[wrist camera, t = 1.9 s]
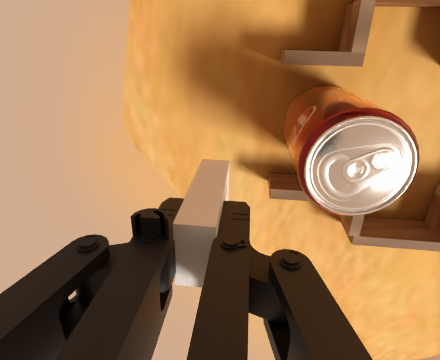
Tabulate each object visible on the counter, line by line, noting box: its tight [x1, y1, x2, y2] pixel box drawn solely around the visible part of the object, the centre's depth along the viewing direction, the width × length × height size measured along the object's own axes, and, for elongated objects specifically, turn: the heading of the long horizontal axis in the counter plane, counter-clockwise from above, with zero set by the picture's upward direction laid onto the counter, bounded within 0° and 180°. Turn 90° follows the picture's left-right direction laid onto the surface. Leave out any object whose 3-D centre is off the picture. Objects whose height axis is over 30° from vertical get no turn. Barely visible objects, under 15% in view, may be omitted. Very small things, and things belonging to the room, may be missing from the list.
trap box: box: [268, 0, 440, 251], centre depth 27 cm, size 22×21×4 cm
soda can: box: [283, 86, 419, 216], centre depth 24 cm, size 7×7×12 cm
